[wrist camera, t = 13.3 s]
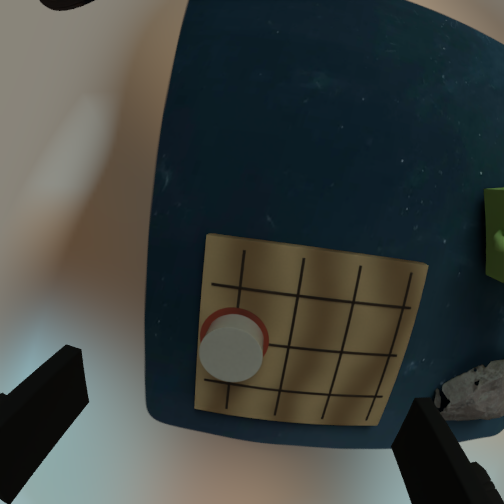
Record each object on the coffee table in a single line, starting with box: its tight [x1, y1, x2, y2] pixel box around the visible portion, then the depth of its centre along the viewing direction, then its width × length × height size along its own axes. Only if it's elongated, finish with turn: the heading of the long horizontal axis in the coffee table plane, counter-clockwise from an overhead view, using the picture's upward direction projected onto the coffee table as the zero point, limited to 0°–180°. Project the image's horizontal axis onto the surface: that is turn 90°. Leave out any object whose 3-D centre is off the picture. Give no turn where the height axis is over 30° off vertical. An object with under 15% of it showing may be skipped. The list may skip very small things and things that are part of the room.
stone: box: [434, 360, 504, 421], centre depth 33 cm, size 15×8×15 cm
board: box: [195, 233, 428, 426], centre depth 35 cm, size 24×22×2 cm
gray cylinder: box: [199, 314, 264, 382], centre depth 33 cm, size 6×6×4 cm
